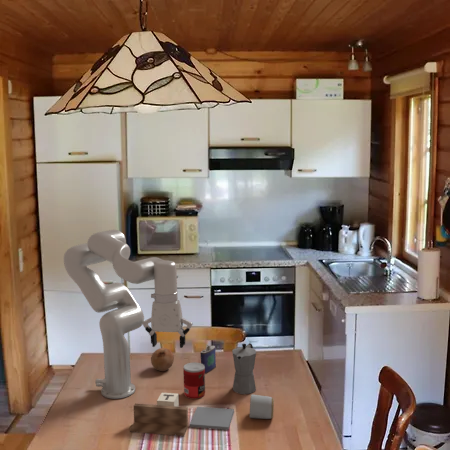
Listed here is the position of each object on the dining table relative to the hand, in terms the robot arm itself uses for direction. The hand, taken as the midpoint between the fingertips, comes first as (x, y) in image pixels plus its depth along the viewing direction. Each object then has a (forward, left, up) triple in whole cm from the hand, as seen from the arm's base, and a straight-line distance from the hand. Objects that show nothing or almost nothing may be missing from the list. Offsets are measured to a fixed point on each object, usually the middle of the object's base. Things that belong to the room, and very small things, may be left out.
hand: (168, 346), depth 187 cm
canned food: (+5, +14, -24) cm, 29 cm away
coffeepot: (+23, +22, -24) cm, 41 cm away
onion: (-13, +34, -24) cm, 44 cm away
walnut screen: (-1, -12, -24) cm, 27 cm away
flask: (+6, +36, -25) cm, 44 cm away
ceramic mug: (+31, +3, -25) cm, 40 cm away
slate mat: (+15, -3, -24) cm, 29 cm away
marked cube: (-1, -1, -24) cm, 24 cm away
